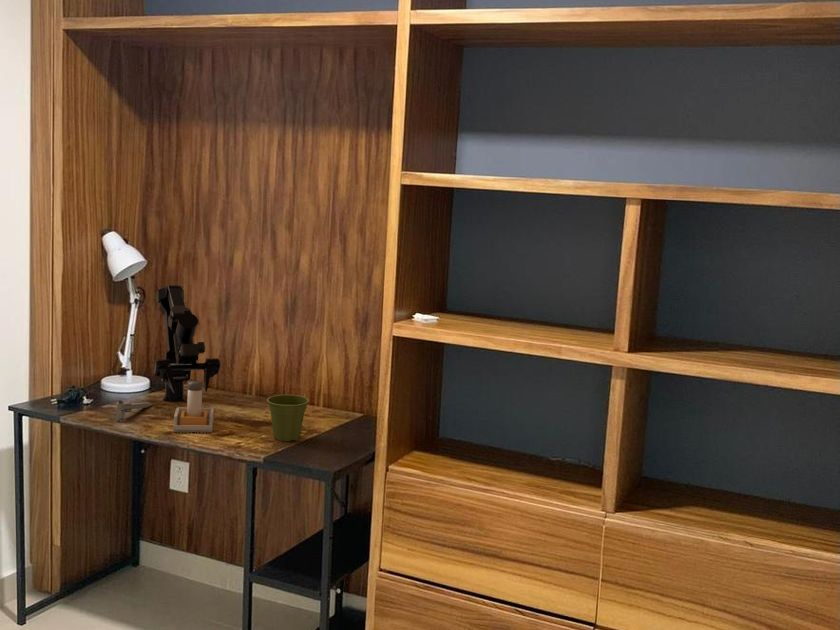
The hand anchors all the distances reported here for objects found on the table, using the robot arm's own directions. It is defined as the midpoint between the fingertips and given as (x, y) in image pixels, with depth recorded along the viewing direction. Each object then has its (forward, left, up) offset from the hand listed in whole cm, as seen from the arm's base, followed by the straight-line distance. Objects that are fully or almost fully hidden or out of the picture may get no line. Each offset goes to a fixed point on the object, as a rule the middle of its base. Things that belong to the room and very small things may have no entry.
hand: (190, 391), depth 250 cm
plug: (+6, +1, -8) cm, 10 cm away
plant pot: (+16, +27, -9) cm, 33 cm away
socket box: (+6, +1, -9) cm, 11 cm away
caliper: (-9, -17, -10) cm, 21 cm away
